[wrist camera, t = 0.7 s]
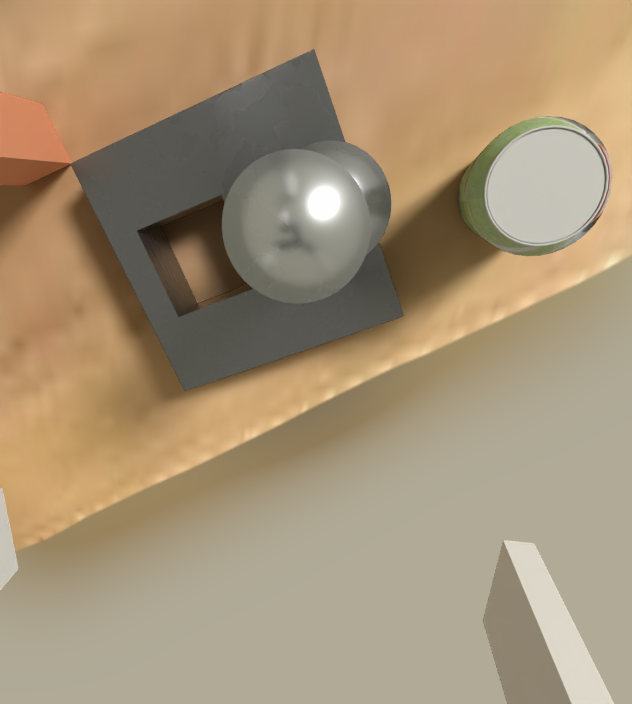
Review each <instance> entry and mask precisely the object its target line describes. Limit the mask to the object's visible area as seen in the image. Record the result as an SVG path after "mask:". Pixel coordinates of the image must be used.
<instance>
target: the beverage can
mask: <svg viewBox="0 0 632 704" xmlns="http://www.w3.org/2000/svg"><path fill="white" fill-rule="evenodd" d="M611 184H612V169H611V163H610V159H609V156H608V153H607V151H606V149H605V147H604V145H603V143H602V142H601V141H600V139H599V138H598V137H597V136H596V135H595V133H593V132H592V131H591V130H590V129H588V128H587V127H586V126H584V125H582V124H580V123H578V122H576V121H574V120H570V119H567V118H563V117H552V116H546V117H537V118H532V119H529V120H525V121H522V122H520V123H518V124H516V125H514V126H512V127H510V128H508V129H507V130H505V131H504V132H502V133H501V134H499V135H498V136H497V137H496V138H495V139H494V140H493V141H492V142H491V143H490V144H489V145H488V146H487V147H486V148H485V149H484V150H483V151H482V152H481V153H480V154H479V156H478V157H477V158H476V159H475V160H474V161H473V162H472V163H471V165H470V166H469V167H468V168H467V170H466V172H465V174H464V175H463V178H462V180H461V183H460V187H459V192H458V205H459V211H460V213H461V216H462V218H463V220H464V222H465V224H466V225H467V226H468V227H469V229H470V230H471V231H472V232H474V233H475V234H476V235H478V236H479V237H481V238H482V239H484V240H486V241H487V242H489V243H490V244H492V245H494V246H495V247H497V248H499V249H501V250H503V251H505V252H508V253H512V254H515V255H522V256H540V255H545V254H550V253H553V252H556V251H558V250H561V249H564V248H565V247H567V246H569V245H571V244H573V243H574V242H576V241H577V240H578V239H580V238H581V237H582V236H584V235H585V234H586V233H587V232H588V231H589V230H590V229H591V228H592V227H593V225H594V224H595V223H596V221H597V220H598V219H599V217H600V216H601V214H602V212H603V210H604V208H605V206H606V204H607V202H608V198H609V195H610V191H611Z"/></svg>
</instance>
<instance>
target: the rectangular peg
mask: <svg viewBox="0 0 632 704" xmlns="http://www.w3.org/2000/svg"><path fill="white" fill-rule="evenodd" d="M71 163H72V162H71V160H70V158H69V156H68V154H67V152H66V150H65V148H64V146H63V144H62V142H61V140H60V138H59V136H58V134H57V132H56V130H55V128H54V126H53V124H52V122H51V120H50V118H49V116H48V114H47V112H46V110H45V108H44V106H43V104H42V103H38V102H35V101H31V100H27V99H24V98H20V97H16V96H13V95H9V94H5V93H2V92H0V185H16V186H25V185H27V184H30V183H32V182H34V181H36V180H38V179H40V178H42V177H45V176H47V175H49V174H51V173H53V172H55V171H57V170H59V169H62V168H64V167H66V166H68V165H70V164H71Z"/></svg>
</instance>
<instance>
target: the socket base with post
mask: <svg viewBox="0 0 632 704" xmlns="http://www.w3.org/2000/svg"><path fill="white" fill-rule="evenodd" d="M71 166H72V168H73V170H74V172H75V174H76V176H77V178H78V180H79V182H80V184H81V186H82V188H83V190H84V192H85V194H86V196H87V198H88V200H89V202H90V204H91V206H92V208H93V210H94V212H95V214H96V216H97V218H98V220H99V222H100V224H101V226H102V228H103V230H104V232H105V234H106V236H107V238H108V240H109V242H110V244H111V246H112V247H113V249H114V251H115V253H116V255H117V257H118V259H119V261H120V263H121V265H122V267H123V269H124V271H125V273H126V275H127V277H128V279H129V281H130V283H131V285H132V287H133V289H134V291H135V293H136V295H137V297H138V299H139V301H140V303H141V305H142V307H143V309H144V311H145V313H146V315H147V317H148V319H149V321H150V323H151V325H152V327H153V329H154V331H155V333H156V335H157V337H158V339H159V341H160V343H161V345H162V347H163V349H164V351H165V353H166V355H167V357H168V359H169V361H170V363H171V365H172V367H173V369H174V371H175V373H176V375H177V377H178V379H179V381H180V383H181V385H182V387H183V389H184V391H187V390H190V389H193V388H196V387H199V386H202V385H204V384H207V383H210V382H213V381H216V380H219V379H222V378H225V377H228V376H231V375H234V374H237V373H239V372H242V371H245V370H248V369H251V368H254V367H257V366H260V365H263V364H266V363H269V362H272V361H274V360H277V359H280V358H283V357H286V356H289V355H292V354H295V353H298V352H301V351H304V350H307V349H309V348H312V347H315V346H318V345H321V344H324V343H327V342H330V341H333V340H336V339H339V338H342V337H344V336H347V335H350V334H353V333H356V332H359V331H362V330H365V329H368V328H371V327H374V326H377V325H380V324H382V323H385V322H388V321H391V320H394V319H397V318H400V317H403V316H404V315H403V312H402V309H401V306H400V303H399V300H398V297H397V294H396V291H395V288H394V285H393V282H392V279H391V276H390V273H389V270H388V267H387V265H386V262H385V259H384V256H383V253H382V250H381V247H380V244H379V241H380V240H381V238H382V236H383V234H384V233H385V230H386V228H387V225H388V222H389V218H390V212H391V194H390V189H389V185H388V182H387V179H386V177H385V175H384V173H383V171H382V169H381V168H380V166H379V165H378V163H377V162H376V161H375V160H374V159H373V158H372V157H371V156H370V155H369V154H368V153H366V152H365V151H364V150H362V149H360V148H359V147H357V146H355V145H352V144H350V143H346V142H345V140H344V137H343V134H342V131H341V128H340V125H339V122H338V119H337V116H336V113H335V110H334V107H333V104H332V101H331V98H330V95H329V92H328V89H327V86H326V83H325V80H324V77H323V74H322V71H321V68H320V65H319V62H318V59H317V56H316V53H315V50H314V49H313V50H311V51H309V52H307V53H305V54H303V55H300V56H298V57H296V58H294V59H292V60H290V61H288V62H286V63H283V64H281V65H279V66H277V67H275V68H273V69H271V70H269V71H266V72H264V73H262V74H260V75H258V76H256V77H254V78H252V79H249V80H247V81H245V82H243V83H241V84H239V85H237V86H234V87H232V88H230V89H228V90H226V91H224V92H222V93H220V94H217V95H215V96H213V97H211V98H209V99H207V100H205V101H203V102H200V103H198V104H196V105H194V106H192V107H190V108H188V109H186V110H183V111H181V112H179V113H177V114H175V115H173V116H171V117H169V118H166V119H164V120H162V121H160V122H158V123H156V124H154V125H152V126H149V127H147V128H145V129H143V130H141V131H139V132H137V133H134V134H132V135H130V136H128V137H126V138H124V139H122V140H120V141H117V142H115V143H113V144H111V145H109V146H107V147H105V148H103V149H100V150H98V151H96V152H94V153H92V154H90V155H88V156H86V157H83V158H81V159H79V160H77V161H75V162H73V163H71ZM222 200H224V202H225V204H224V208H223V215H222V235H223V241H224V245H225V249H226V252H227V254H228V257H229V259H230V261H231V263H232V265H233V267H234V268H235V269H236V271H237V272H238V274H239V275H240V276H241V277H242V278H243V280H244V281H245V282H246V283H247V285H245V286H242V287H239V288H237V289H234V290H232V291H229V292H226V293H224V294H221V295H218V296H216V297H213V298H211V299H208V300H205V301H203V302H200V303H197V302H196V299H195V297H194V295H193V293H192V291H191V289H190V287H189V284H188V282H187V280H186V278H185V276H184V274H183V272H182V269H181V267H180V265H179V263H178V261H177V259H176V257H175V254H174V252H173V250H172V248H171V246H170V244H169V242H168V239H167V237H166V235H165V233H164V231H163V229H162V227H161V226H162V225H165V224H167V223H170V222H172V221H174V220H177V219H179V218H181V217H184V216H186V215H188V214H191V213H193V212H196V211H198V210H200V209H203V208H205V207H207V206H210V205H212V204H215V203H217V202H219V201H222Z"/></svg>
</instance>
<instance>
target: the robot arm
mask: <svg viewBox="0 0 632 704" xmlns="http://www.w3.org/2000/svg"><path fill="white" fill-rule="evenodd" d="M18 569H19V568H18V563H17V559H16V553H15V548H14V543H13V539H12V534H11V529H10V524H9V519H8V514H7V509H6V504H5V499H4V494H3V489H2V488H0V590H1V589H2V588H3V586H4V585H5V584H6V583H7V582H8V581H9V579H10V578H11V577H12V576H13V575H14V574H15V572H16V571H17V570H18ZM483 623H484V626H485V630H486V633H487V636H488V640H489V643H490V647H491V650H492V654H493V657H494V660H495V663H496V667H497V670H498V674H499V677H500V681H501V684H502V687H503V691H504V694H505V698H506V701H507V704H614V702H613V701H612V698H611V697H610V694H609V693H608V690H607V689H606V686H605V684H604V682H603V680H602V678H601V677H600V675H599V672H598V670H597V669H596V666H595V664H594V662H593V660H592V658H591V656H590V654H589V652H588V650H587V649H586V646H585V644H584V643H583V640H582V638H581V636H580V634H579V632H578V630H577V628H576V627H575V624H574V622H573V620H572V618H571V616H570V614H569V612H568V610H567V608H566V606H565V604H564V602H563V600H562V599H561V596H560V595H559V592H558V590H557V588H556V586H555V584H554V582H553V580H552V578H551V576H550V574H549V572H548V570H547V568H546V566H545V564H544V562H543V560H542V558H541V557H540V554H539V552H538V550H537V548H536V547H535V544H534V543H526V542H517V541H507V540H503V543H502V547H501V551H500V555H499V559H498V563H497V567H496V570H495V574H494V578H493V582H492V586H491V590H490V594H489V598H488V602H487V606H486V610H485V614H484V618H483Z"/></svg>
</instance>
